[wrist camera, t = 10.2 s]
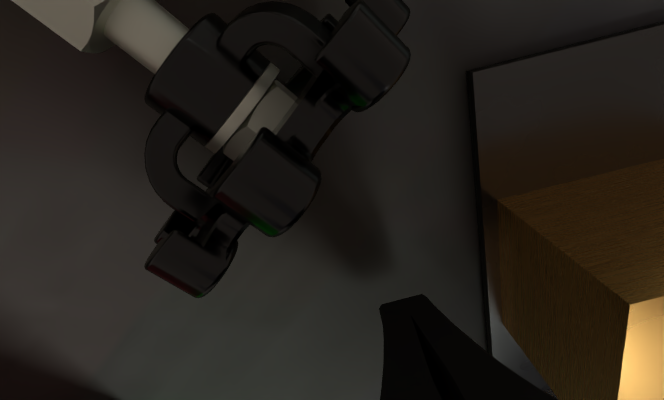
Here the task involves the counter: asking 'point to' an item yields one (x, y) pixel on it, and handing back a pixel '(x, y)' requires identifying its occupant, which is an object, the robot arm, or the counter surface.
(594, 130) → the grey piece
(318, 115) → the valve
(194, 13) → the counter surface
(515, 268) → the wooden drawer block
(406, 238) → the counter surface
